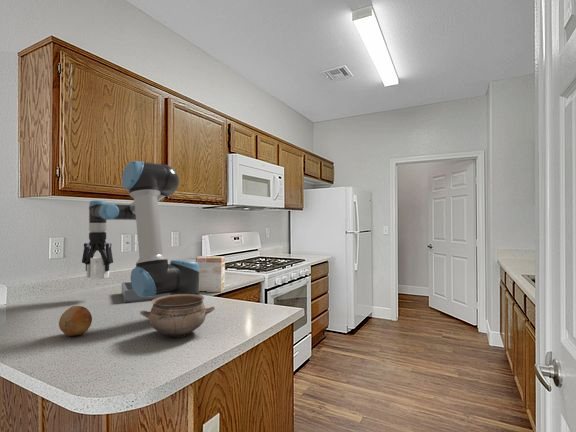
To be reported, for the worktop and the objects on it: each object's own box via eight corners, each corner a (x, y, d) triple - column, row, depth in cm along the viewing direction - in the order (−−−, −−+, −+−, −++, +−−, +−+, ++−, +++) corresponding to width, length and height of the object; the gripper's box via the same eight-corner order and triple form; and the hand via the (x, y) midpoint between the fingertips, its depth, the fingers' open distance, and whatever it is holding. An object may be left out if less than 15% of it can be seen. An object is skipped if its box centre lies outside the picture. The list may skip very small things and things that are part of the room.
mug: (102, 280, 162) (102, 258, 162) (83, 280, 161) (83, 259, 161) (111, 276, 174) (112, 256, 174) (94, 277, 173) (94, 256, 173)
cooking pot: (214, 323, 131) (214, 292, 131) (215, 340, 113) (215, 303, 113) (144, 328, 125) (145, 295, 125) (134, 346, 107) (134, 308, 107)
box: (125, 303, 163) (125, 290, 163) (121, 293, 184) (121, 282, 184) (177, 297, 175) (177, 286, 175) (168, 289, 196) (168, 279, 196)
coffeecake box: (224, 290, 196) (225, 256, 196) (221, 292, 189) (221, 257, 189) (199, 289, 197) (200, 255, 198) (195, 291, 190) (195, 257, 191)
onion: (53, 341, 111) (54, 310, 111) (64, 332, 121) (65, 303, 121) (86, 339, 114) (87, 309, 114) (95, 329, 123) (95, 302, 123)
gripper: (121, 231, 170) (121, 277, 169) (84, 231, 174) (84, 276, 173) (111, 231, 163) (111, 279, 162) (73, 231, 166) (72, 278, 166)
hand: (97, 277), depth 168 cm, fingers closed on mug, 8 cm apart
